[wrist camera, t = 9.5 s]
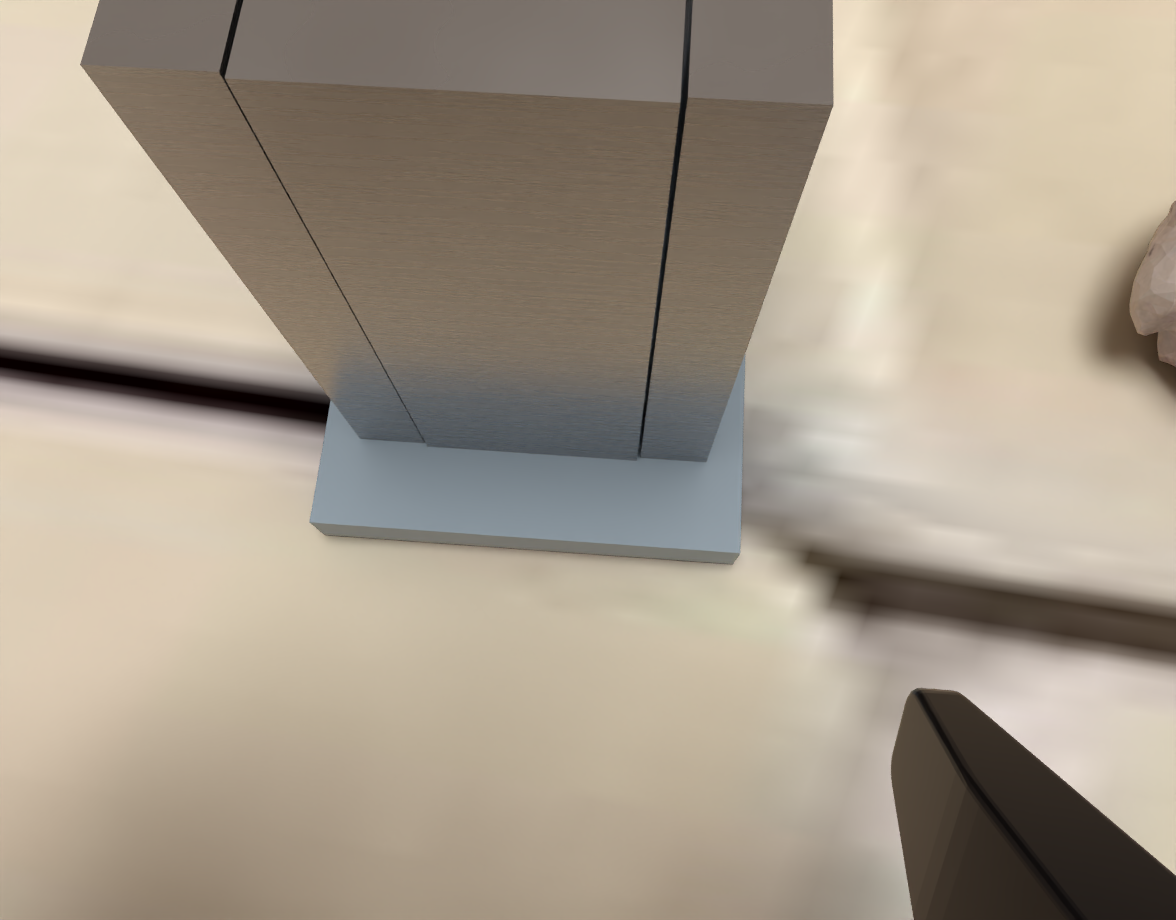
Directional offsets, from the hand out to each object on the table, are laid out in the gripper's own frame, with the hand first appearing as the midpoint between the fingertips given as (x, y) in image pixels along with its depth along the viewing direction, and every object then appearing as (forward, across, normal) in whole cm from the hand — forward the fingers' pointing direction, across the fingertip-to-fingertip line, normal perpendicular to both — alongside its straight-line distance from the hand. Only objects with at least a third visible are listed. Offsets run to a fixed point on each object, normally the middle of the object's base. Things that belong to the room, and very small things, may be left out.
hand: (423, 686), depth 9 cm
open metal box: (+11, 0, 0) cm, 11 cm away
